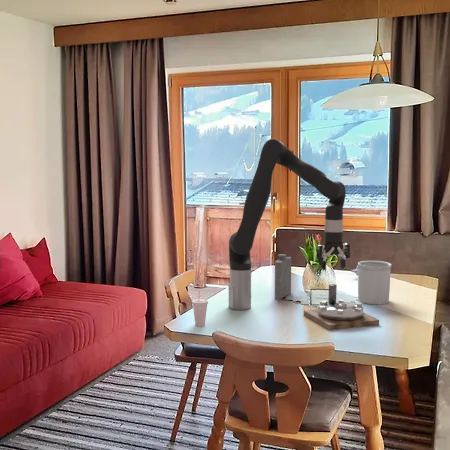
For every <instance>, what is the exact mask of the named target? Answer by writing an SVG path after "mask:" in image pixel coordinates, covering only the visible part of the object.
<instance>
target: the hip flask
mask: <svg viewBox="0 0 450 450" xmlns="http://www.w3.org/2000/svg"><path fill="white" fill-rule="evenodd" d="M277 256H278V259H276V260H275V261H274V300H277V301H279V300H282V299H283V298H284V297H285V296H288V295H290V293H292V256H287V255H286V254H285V253H280V254H277Z"/></svg>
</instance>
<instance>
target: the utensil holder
mask: <svg viewBox="0 0 450 450" xmlns="http://www.w3.org/2000/svg"><path fill="white" fill-rule="evenodd" d="M357 266H358V275H357V276H358V277H357V278H358V279H357V292H358V295H357V297H358V298H357V299H358V301H359V303H362V304H367V305H385V304H388V303H389V302H390V290H391V287H390V286H391V273H392V272H391V270H392V263H390V262H387V261H382V260H361V261H358V262H357Z"/></svg>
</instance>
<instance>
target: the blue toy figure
mask: <svg viewBox="0 0 450 450" xmlns="http://www.w3.org/2000/svg"><path fill="white" fill-rule="evenodd" d="M350 272H352V273H353V274H355V275H356V276H358V265H357V266H356V267H355V269H351V270H350Z"/></svg>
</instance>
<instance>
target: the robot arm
mask: <svg viewBox="0 0 450 450" xmlns="http://www.w3.org/2000/svg"><path fill="white" fill-rule="evenodd" d="M276 164H277V165H280V166H283V167H284V168H286V169H288V170H290V171H291V172H292V173H294V174H295V175H296V176H298V177H299V178H300V179H301V180H302V181H304V182H306V183H307V184H308V185H310V186H312V187H313V188H315V189H316V191H318V193H320V194H321V195H322V196H323V197H325V198H327V199H328V204H327V205H326V207H325V212H324V213H325V214H324V215H325V218H324V219H325V220H324V232H323V233H324V239H323V240H324V244H317V245H316V256H315V257H316V259H317V260H319V261H320V268H321V270H323V271H326V270H327V259H328V258H329V257H330V256H334V255H336V256H339V258H340V261H339V263H340V264H339V265H340V266H339V268H340V269H342V270H344V269H345V268H346V262H347V261H346V260H347V259H350V258H351V246H350V243H347V242H345V243H343V241H344V213H343V211H344V205H345V199H346V191H347V190H346V187H345V184H344V183H343V182H342V181H338V180H337V181H336V180H335V181H333V180H331V179H330V178H328V177H327V175H326V174H325V173H324V172H323V171H321V170H320V169H319V168H317V167H315V166H314V165H312V164H310V163H308V162H306V161H305V160H303V159H301V158H299V157H298V156H297V155H295V153H293V152H292V151H291V150H290V149H289V148H288V147H287V146H286V145H285V144H284V143H283V142H282V141H280V140H278V139H276V138H270V139H268V140H266V141H265V143H264V144H263V146H262V148H261V153H260V156H259V159H258V164H257V168H256V171H255V173H254V176H253V179H252V181H251V185H250V187H249V189H248V192H247V194H246V198H245V201H244V205H243V211H242V217H241V221H240V224H239V227H238V229H237V231H235V232H234V233H232V235H230V237H229V241H228V253H229V254H228V258H229V285H228V307H229V308H230V309H231V310H238V311H239V310H240V311H242V310H243V311H244V310H250V309H251V308H252V261H251V251H252V248H253V245H254V242H255V237H256V232H257V230H258V226H259V223H260V221H261V219H262V217H263V215H264V211H265V209H266V206H267V204H268V201H269V199H270V196H271V191H272V179H273V173H274V169H275V167H276ZM343 249H344V250H343Z"/></svg>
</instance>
